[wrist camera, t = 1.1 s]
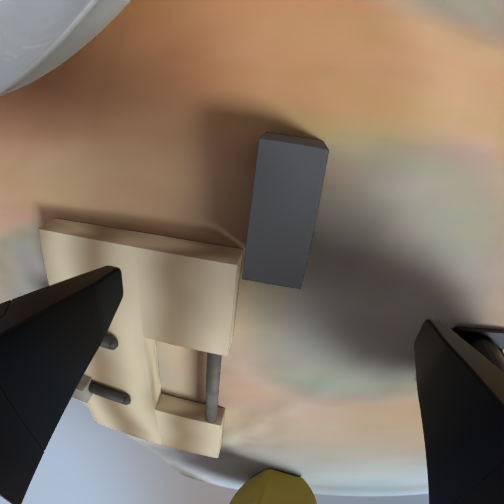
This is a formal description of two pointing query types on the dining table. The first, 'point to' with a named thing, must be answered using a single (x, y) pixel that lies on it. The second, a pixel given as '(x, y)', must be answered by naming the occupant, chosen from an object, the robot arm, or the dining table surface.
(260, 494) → the flower pot
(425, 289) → the dining table surface
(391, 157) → the dining table surface
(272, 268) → the dark grey chamfered block
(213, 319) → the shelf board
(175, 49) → the dining table surface
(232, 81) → the dining table surface
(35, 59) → the serving bowl
